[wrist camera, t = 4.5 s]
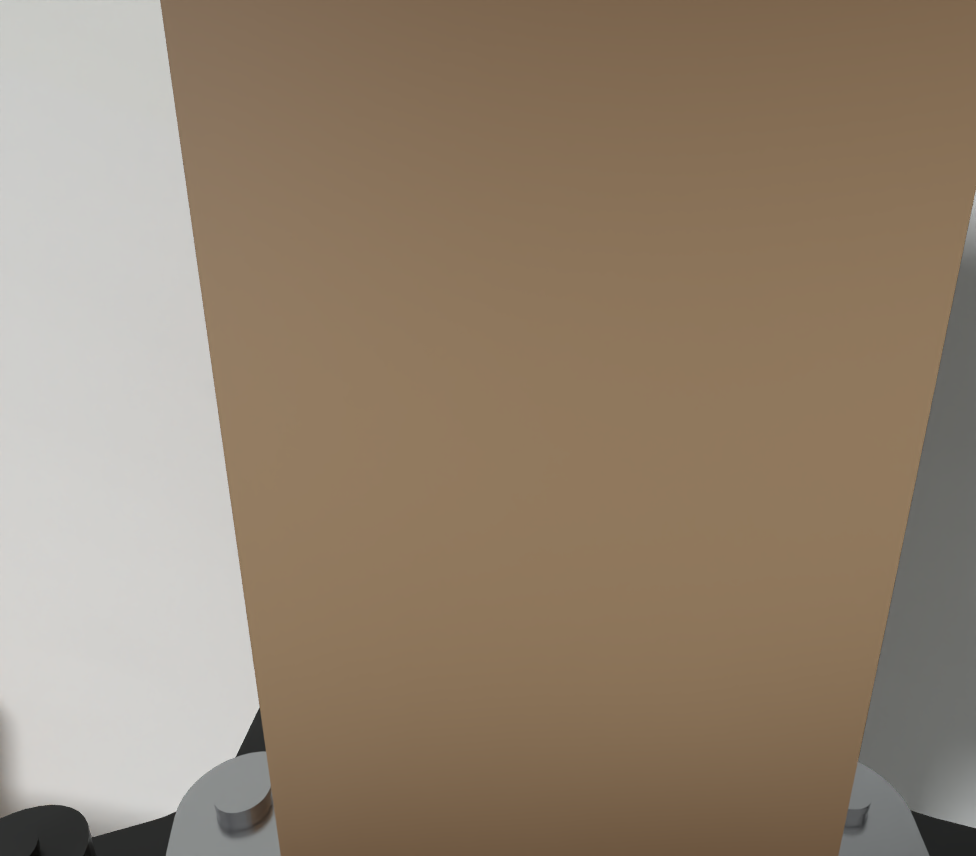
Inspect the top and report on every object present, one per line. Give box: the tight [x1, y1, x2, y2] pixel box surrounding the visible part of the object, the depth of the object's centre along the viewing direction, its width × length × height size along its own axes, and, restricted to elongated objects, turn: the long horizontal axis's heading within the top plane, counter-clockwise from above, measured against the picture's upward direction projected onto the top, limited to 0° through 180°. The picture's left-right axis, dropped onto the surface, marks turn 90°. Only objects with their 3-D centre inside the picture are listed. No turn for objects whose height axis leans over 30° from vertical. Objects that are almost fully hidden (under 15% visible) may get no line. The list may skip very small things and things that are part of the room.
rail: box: [160, 0, 976, 856], centre depth 8 cm, size 16×4×6 cm, turn 1°
